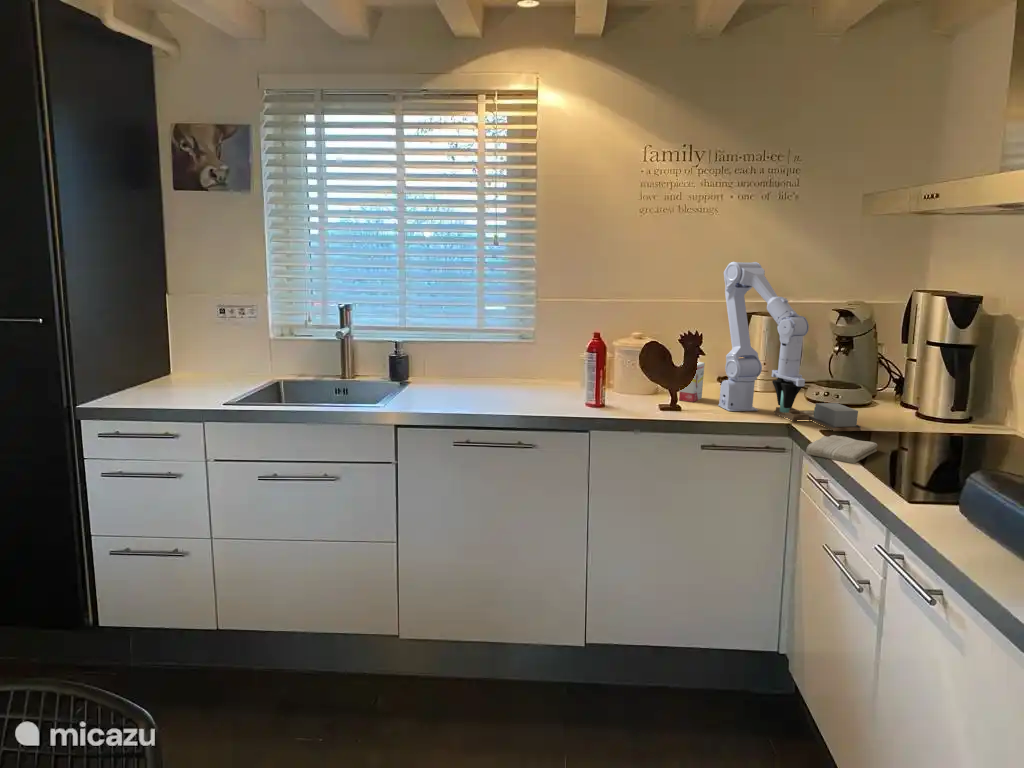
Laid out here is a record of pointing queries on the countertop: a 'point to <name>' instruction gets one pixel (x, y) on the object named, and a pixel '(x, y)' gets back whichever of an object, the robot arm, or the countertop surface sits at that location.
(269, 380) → the countertop surface
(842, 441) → the washcloth
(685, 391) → the ink box
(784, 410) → the peg
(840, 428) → the plate
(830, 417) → the grey rectangular block
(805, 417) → the build board
